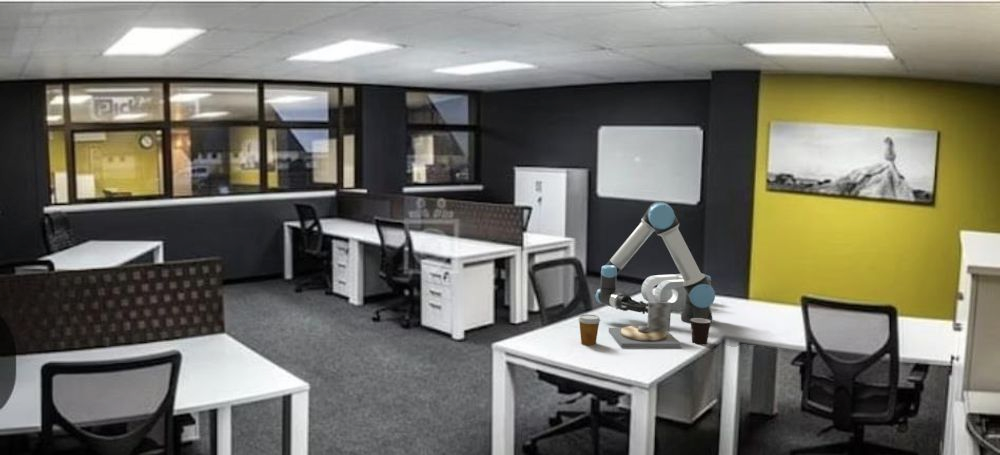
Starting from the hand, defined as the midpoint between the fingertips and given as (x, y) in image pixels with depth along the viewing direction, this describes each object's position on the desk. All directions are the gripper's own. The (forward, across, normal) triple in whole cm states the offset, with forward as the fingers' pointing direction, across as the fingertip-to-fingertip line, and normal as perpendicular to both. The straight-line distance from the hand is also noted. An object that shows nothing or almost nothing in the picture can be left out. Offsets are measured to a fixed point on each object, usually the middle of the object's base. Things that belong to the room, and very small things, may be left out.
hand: (657, 312), depth 321 cm
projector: (-43, -60, -12) cm, 74 cm away
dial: (-1, +5, -10) cm, 11 cm away
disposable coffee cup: (-9, +32, -12) cm, 35 cm away
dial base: (-1, +6, -12) cm, 14 cm away
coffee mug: (+14, -14, -12) cm, 23 cm away
